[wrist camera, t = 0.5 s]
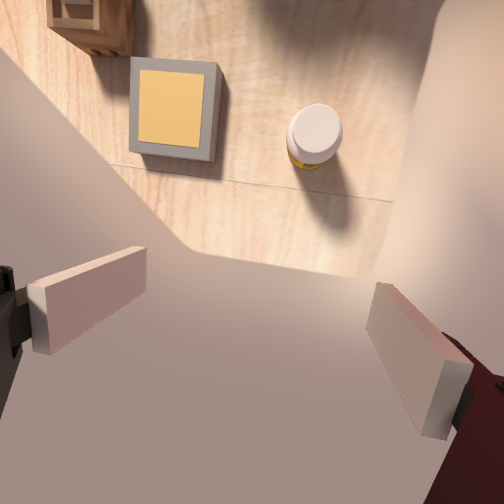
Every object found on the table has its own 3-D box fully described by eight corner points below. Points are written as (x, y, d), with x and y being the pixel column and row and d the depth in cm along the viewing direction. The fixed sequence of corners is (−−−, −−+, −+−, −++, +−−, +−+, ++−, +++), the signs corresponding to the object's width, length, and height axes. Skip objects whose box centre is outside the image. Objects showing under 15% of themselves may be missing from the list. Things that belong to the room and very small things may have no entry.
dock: (142, 66, 38) (129, 56, 35) (222, 73, 37) (216, 62, 34) (140, 154, 41) (128, 151, 38) (214, 163, 40) (208, 160, 37)
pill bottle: (301, 179, 38) (304, 173, 27) (279, 141, 38) (273, 120, 27) (340, 154, 37) (359, 137, 26) (318, 114, 36) (328, 80, 25)
